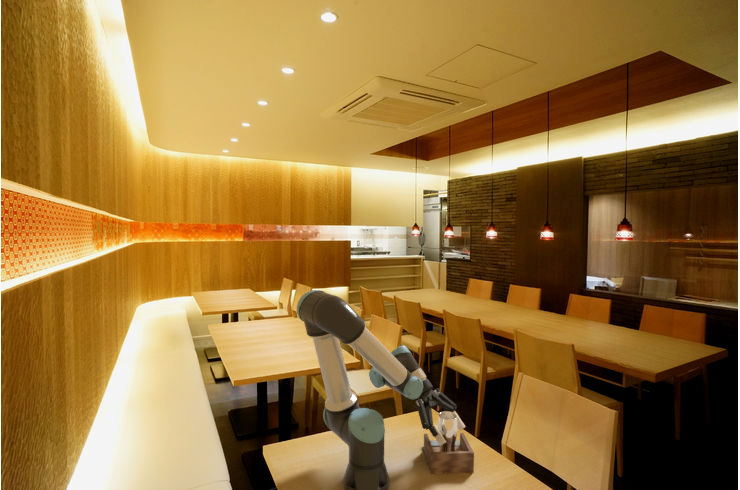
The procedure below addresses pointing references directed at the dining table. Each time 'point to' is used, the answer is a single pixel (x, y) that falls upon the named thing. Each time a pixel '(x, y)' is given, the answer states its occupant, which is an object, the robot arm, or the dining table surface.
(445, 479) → the dining table surface
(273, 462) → the dining table surface
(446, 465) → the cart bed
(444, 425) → the beer glass
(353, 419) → the robot arm
